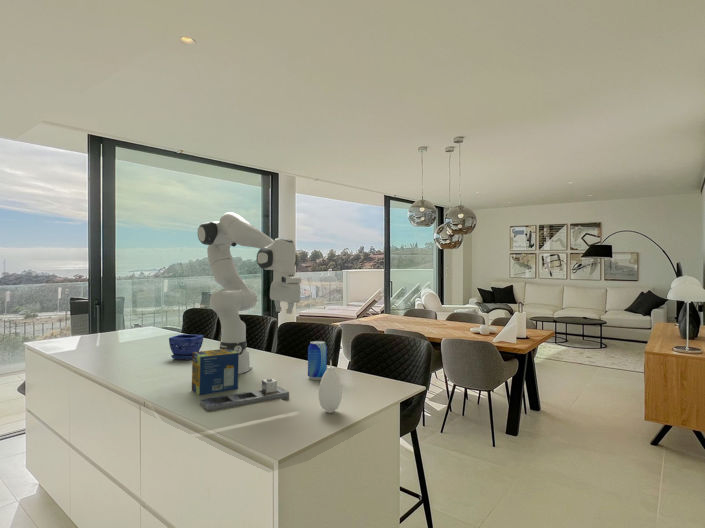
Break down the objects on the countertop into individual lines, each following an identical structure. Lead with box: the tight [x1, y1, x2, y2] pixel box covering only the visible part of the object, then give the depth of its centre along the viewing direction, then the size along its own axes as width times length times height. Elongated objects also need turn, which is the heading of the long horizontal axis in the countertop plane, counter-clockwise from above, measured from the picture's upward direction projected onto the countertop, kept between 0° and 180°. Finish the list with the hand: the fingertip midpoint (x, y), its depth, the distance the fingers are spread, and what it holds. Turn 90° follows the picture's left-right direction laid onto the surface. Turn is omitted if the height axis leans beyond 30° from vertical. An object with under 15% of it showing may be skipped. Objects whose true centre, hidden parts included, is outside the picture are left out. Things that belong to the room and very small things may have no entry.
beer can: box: [307, 340, 328, 381], centre depth 184 cm, size 8×8×16 cm
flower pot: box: [168, 333, 204, 361], centre depth 220 cm, size 13×13×12 cm
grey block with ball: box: [261, 378, 278, 395], centre depth 154 cm, size 4×4×6 cm
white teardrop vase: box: [318, 359, 343, 414], centre depth 140 cm, size 8×8×18 cm
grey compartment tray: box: [199, 385, 290, 412], centre depth 148 cm, size 9×30×2 cm, turn 126°
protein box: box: [191, 348, 239, 396], centre depth 162 cm, size 10×15×16 cm
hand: (283, 312), depth 165 cm, fingers open, 8 cm apart
